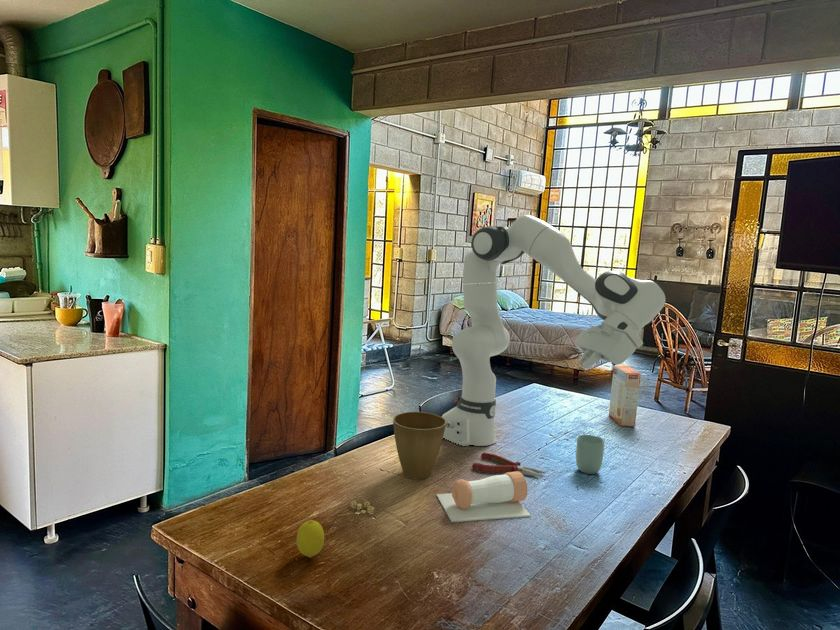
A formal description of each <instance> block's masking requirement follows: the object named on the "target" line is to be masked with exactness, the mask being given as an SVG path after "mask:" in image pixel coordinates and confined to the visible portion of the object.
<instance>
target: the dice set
mask: <svg viewBox="0 0 840 630" xmlns="http://www.w3.org/2000/svg"><path fill="white" fill-rule="evenodd" d="M362 504H363V507H362ZM356 506H357V507H356ZM351 507H352V508H355V507H356V508H355V509H356V510H357V509H358V510H360V509H362V508H364V507H365V508H368V509H367V510H366V509H362V510H361V511H358V510H357V511H356V512H355V513H354V515H355V514H358V515H359V514H360V513H361V512H362V513H365V512H367V514H368V513H373V512H374V513H375V507H374V506H372V505H371V502H370V501H367V500H366V501H364V502H363V503H358V502H357V501H356V500H351V501H350V508H351ZM352 508H351V509H352ZM362 513H361V514H362ZM374 513H373V514H374ZM361 514H360V515H361ZM365 514H366V513H365ZM358 515H357V516H358ZM360 515H359V516H360Z"/></svg>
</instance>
